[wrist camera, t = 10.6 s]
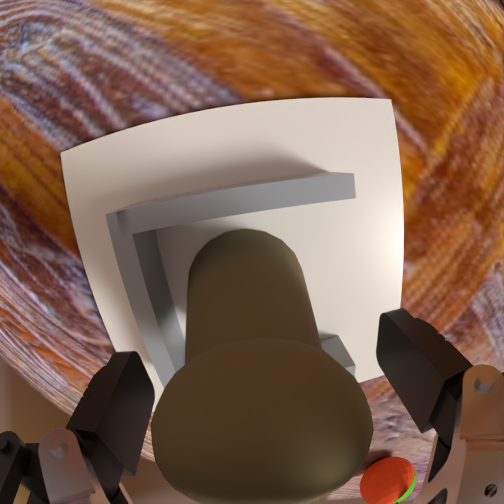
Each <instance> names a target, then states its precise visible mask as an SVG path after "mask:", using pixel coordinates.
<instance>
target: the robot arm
mask: <svg viewBox="0 0 504 504" xmlns="http://www.w3.org/2000/svg"><path fill="white" fill-rule="evenodd" d="M502 2H503V4H504V0H502ZM376 357H377V362H378V365H379V367H380V368H381V370H382V371H383V373H384V374H385V376H386V377H387V379H388V381H389V382H390V384H391V385H392V387H393V388H394V390H395V391H396V393H397V395H398V396H399V398H400V399H401V401H402V403H403V404H404V406H405V407H406V409H407V411H408V412H409V414H410V415H411V417H412V419H413V420H414V422H415V424H416V425H417V427H418V429H419V430H420V432H421V433H424V432H426V431H428V430H430V429H432V428H434V429H435V430H436V432H437V434H436V436H435V438H434V443H433V447H432V452H431V456H430V460H429V464H428V468H427V472H426V475H425V479H424V482H423V485H422V488H421V490H420V492H419V494H418V496H417V498H416V499H415V501H414V503H413V504H504V372H503V373H501V372H500V371H499V370H498V369H496V368H495V367H492V366H490V365H484V364H483V365H476V366H473V365H472V364H471V363H470V362H469V361H468V360H467V359H466V358H465V357H464V356H463V355H462V354H461V353H460V352H459V351H458V350H457V349H456V348H455V347H454V346H453V345H452V344H451V343H450V342H449V341H446V338H445V337H444V336H443V335H442V334H439V332H438V331H437V330H436V329H435V328H434V327H433V326H432V325H431V324H429V323H427V322H425V321H423V320H421V319H419V318H416V319H414V318H413V317H412V316H411V315H410V314H409V313H408V312H407V311H406V310H405V309H404V308H399V309H395V310H392V311H388V312H384V313H382V314H381V315H380V318H379V327H378V337H377V346H376ZM154 401H155V390H154V386H153V383H152V381H151V379H150V377H149V375H148V373H147V371H146V368H145V366H144V364H143V362H142V359H141V357H140V355H139V354H138V352H136V351H122V352H114V353H113V355H112V356H111V358H110V360H109V362H108V364H107V365H106V366H103V367H102V368H101V369H100V370H99V371H98V372H97V373H96V374H95V375H94V376H93V378H92V379H91V381H90V383H89V385H88V388H86V390H85V392H84V394H83V397H81V399H80V401H79V403H78V405H77V407H76V409H75V411H74V412H73V414H72V416H71V418H70V420H69V422H68V424H67V426H66V428H65V429H55V430H53V431H50V432H49V433H47V434H46V435H45V436H44V437H43V438H42V440H41V442H40V443H27V444H26V443H24V442H23V441H22V440H21V439H20V438H19V437H18V436H17V434H16V433H14V432H11V431H6V432H3V433H1V434H0V504H13V502H14V499H15V496H16V493H17V491H18V488H19V485H20V484H21V485H22V486H23V487H25V488H26V489H27V490H28V491H30V495H29V498H28V502H27V504H133V502H132V501H131V500H130V497H129V496H128V494H127V492H126V490H125V488H124V487H123V485H122V484H121V483H120V478H121V475H128V476H135V474H136V470H137V466H138V462H139V458H140V454H141V450H142V446H143V442H144V438H145V434H146V431H147V427H148V423H149V419H150V416H151V412H152V409H153V405H154Z"/></svg>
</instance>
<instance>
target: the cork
mask: <svg viewBox="0 0 504 504" xmlns="http://www.w3.org/2000/svg"><path fill="white" fill-rule="evenodd" d="M373 431H374V429H373V422H372V416H371V411H370V408H369V405H368V402H367V399H366V397H365V394H364V392H363V390H362V389H361V387H360V385H359V383H358V382H357V380H356V378H355V377H354V376H353V375H352V374H351V373H350V372H349V371H347V370H346V369H345V368H344V367H343V366H342V365H341V364H339V363H338V362H337V361H336V360H335V359H334V358H332V357H331V356H330V355H329V354H328V353H326V352H325V351H324V350H322V346H321V341H320V337H319V333H318V329H317V325H316V321H315V317H314V313H313V309H312V305H311V301H310V297H309V293H308V290H307V286H306V282H305V278H304V274H303V271H302V268H301V265H300V263H299V261H298V259H297V257H296V255H295V253H294V252H293V251H292V250H291V249H290V248H289V247H288V246H287V245H286V244H285V242H284V241H283V240H281V239H279V238H277V237H275V236H273V235H271V234H269V233H267V232H265V231H259V230H252V229H240V230H234V231H228V232H225V233H223V234H221V235H219V236H217V237H215V238H213V239H212V240H210V241H208V243H207V244H206V245H205V246H204V247H203V248H202V249H201V250H200V251H199V252H198V253H197V254H196V256H195V258H194V260H193V263H192V265H191V267H190V269H189V276H188V289H187V309H186V336H185V365H184V366H183V367H182V368H180V369H179V370H178V371H177V372H176V373H175V374H174V375H173V377H172V378H171V379H170V381H169V382H168V384H167V385H166V386H165V388H164V390H163V393H162V395H161V397H160V399H159V401H158V403H157V405H156V408H155V411H154V415H153V418H152V422H151V435H152V446H153V451H154V456H155V461H156V463H157V465H158V467H159V469H160V471H161V472H162V474H163V476H164V478H165V479H166V480H167V481H168V482H169V483H170V484H171V485H172V487H173V488H175V489H176V490H177V491H179V492H180V493H182V494H184V495H185V496H187V497H189V498H191V499H193V500H195V501H197V502H199V503H201V504H307V503H311V502H313V501H316V500H318V499H320V498H323V497H325V496H327V495H329V494H331V493H332V492H334V491H335V490H337V489H339V488H340V487H342V486H343V485H344V484H346V483H347V482H348V481H349V480H350V479H351V478H352V477H353V476H354V475H355V474H356V473H357V472H358V471H359V469H360V468H361V467H362V466H363V465H364V463H365V460H366V457H367V454H368V451H369V447H370V444H371V440H372V435H373Z"/></svg>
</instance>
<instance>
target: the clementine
mask: <svg viewBox="0 0 504 504" xmlns="http://www.w3.org/2000/svg"><path fill="white" fill-rule="evenodd" d="M415 483H416V471H415V468H414V466H413V465H412V464H411V463H410V462H409V461H408V460H406V459H404V458H400V457H387V458H384V459H381V460H379V461H377V462H375V463H374V464H372V465H371V466H370V467H369V468H368V469H367V470H366V472H365V473H364V475H363V477H362V479H361V481H360V492H361V495H362V497H363V499H364V500H365V501H366V502H367V503H368V504H398V502H400V501H402V500H403V499H405V498H406V497H407V496H408V495H409V494H410V493H411V492H412V490H413V488H414V486H415Z"/></svg>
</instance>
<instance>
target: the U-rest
mask: <svg viewBox="0 0 504 504" xmlns="http://www.w3.org/2000/svg"><path fill="white" fill-rule="evenodd" d="M61 161H62V168H63V175H64V182H65V188H66V193H67V199H68V204H69V209H70V214H71V218H72V223H73V227H74V231H75V235H76V239H77V243H78V247H79V250H80V254H81V258H82V261H83V264H84V268H85V271H86V274H87V277H88V280H89V283H90V286H91V289H92V292H93V295H94V298H95V301H96V304H97V306H98V309H99V312H100V314H101V317H102V319H103V322H104V324H105V327H106V329H107V332H108V334H109V336H110V339H111V341H112V343H113V346H114V348H115V350H116V352H122V351H136V352H138V354H139V355H140V357H141V359H142V362H143V364H144V366H145V368H146V371H147V373H148V375H149V377H150V379H151V381H152V383H153V386H154V390H155V401H154V405H153V409H152V412H154V411H155V408H156V405H157V403H158V401H159V399H160V397H161V395H162V393H163V390H164V388H165V386H166V385H167V384H168V382H169V381H170V379H171V378H172V377H173V375H174V374H175V373H176V372H177V371H178V370H179V369H180V368H182V367H183V366H184V365H185V336H186V309H187V289H188V276H189V269H190V267H191V265H192V263H193V260H194V258H195V256H196V254H197V253H198V252H199V251H200V250H201V249H202V248H203V247H204V246H205V245H206V244H207V243H208V241H210V240H212V239H213V238H215V237H217V236H219V235H221V234H223V233H225V232H228V231H234V230H240V229H252V230H259V231H265V232H267V233H269V234H271V235H273V236H275V237H277V238H279V239H281V240H283V241H284V242H285V244H286V245H287V246H288V247H289V248H290V249H291V250H292V251H293V252H294V253H295V255H296V257H297V259H298V261H299V263H300V265H301V268H302V271H303V274H304V278H305V282H306V286H307V290H308V293H309V297H310V301H311V305H312V309H313V313H314V317H315V321H316V325H317V329H318V333H319V337H320V341H321V346H322V350H324V351H325V352H326V353H328V354H329V355H330V356H331V357H332V358H334V359H335V360H336V361H337V362H338V363H339V364H341V365H342V366H343V367H344V368H345V369H346V370H347V371H349V372H350V373H351V374H352V375H353V376H354V377H355V378H356V380H357V382H358V383H359V382H363V381H366V380H369V379H373V378H376V377H379V376H382V375H385V374H384V373H383V371H382V370H381V368H380V367H379V365H378V362H377V357H376V346H377V337H378V327H379V318H380V315H381V314H382V313H384V312H388V311H392V310H395V309H399V308H400V301H401V289H402V274H403V247H404V220H403V193H402V178H401V166H400V157H399V148H398V140H397V133H396V126H395V120H394V114H393V108H392V103H391V99H376V98H303V99H287V100H274V101H264V102H255V103H247V104H239V105H232V106H226V107H220V108H214V109H208V110H203V111H197V112H192V113H188V114H183V115H178V116H174V117H170V118H166V119H161V120H157V121H154V122H150V123H146V124H142V125H139V126H135V127H132V128H129V129H125V130H122V131H119V132H116V133H113V134H110V135H107V136H104V137H101V138H98V139H95V140H92V141H89V142H87V143H84V144H81V145H79V146H76V147H74V148H71V149H69V150H66V151H64V152H61Z"/></svg>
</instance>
